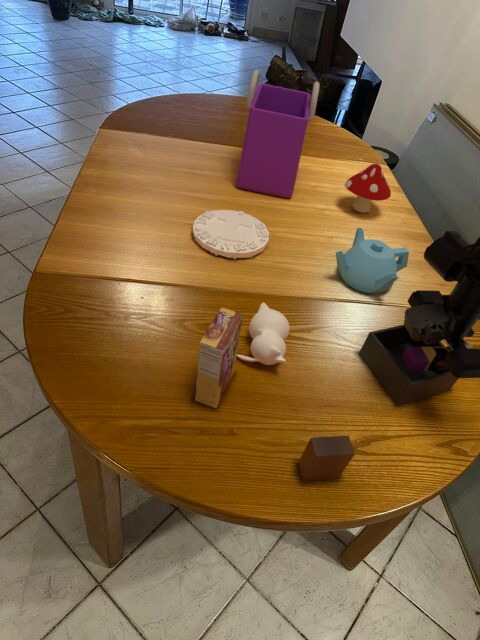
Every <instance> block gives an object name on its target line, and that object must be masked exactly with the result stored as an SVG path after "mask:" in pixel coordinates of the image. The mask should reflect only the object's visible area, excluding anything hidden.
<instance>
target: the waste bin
mask: <svg viewBox="0 0 480 640" xmlns="http://www.w3.org/2000/svg"><path fill="white" fill-rule="evenodd" d="M419 344H420V341H415V340H413V339H412V338H411V337H410V334H409V332H408V330H407V329H406V327H405V326H404V324H400V325H396V326H391V327H387V328H381V329H378V330H377V329H376V330H372V331H370V332H368V335H367V337H366V339H365V340H364V342H363V344H362V346H361V348H360V350H359V352H358V355H359V356H360V358H361V359H362V361H363V362H364V363H365V365H366V366H367V368H368V369H369V370H370V371H371V373H372V374H373V376H374V377H375V378H376V379H377V381H378V382H379V383H380V385H381V387H382V388H383V389H384V390H385V392H386V393H387V394H388V396H389V397H390V398H391V400H392V401H393V402H394V404H395V405H396V407H397V406H403V405H405V404H408V403H411V402H414V401H418V400H422V399H424V398H427V397H431V396H435V395H438V394H441V393H443V392H448V391H450V390H451V389H452V388H453V386H454V385H455V384H456V383H457V381H459V380H460V378H456V377H454V376H453V375H452V373H451V372H450V370H449V369H448V370H434V371H428V370H415V371H409V369H408V367H407V365H406V363H405V361H404V359H403V357H402V354H403V353H404V351H405V349H406V348H407V347H419ZM432 347H446V345H445V344H443V342H442V341H440V342H437V343H435V344H434V345H433V346H432Z"/></svg>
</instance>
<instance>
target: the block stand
mask: <svg viewBox="0 0 480 640" xmlns="http://www.w3.org/2000/svg"><path fill="white" fill-rule="evenodd" d="M350 438H351V437H350V435H335V436H334V435H333V436H331V435H330V436H315V437H314V436H313V437H310V439H308V442H307V444H306V446H305V448H304V450H303V452H302V454H301V456H300V458H299V460H298V462H297V465H298V469H299V473H300V477H301V480H302V482H309V481H312V482H313V481H322V480H323V481H325V480H334V479H335V480H337V479H340V477H341V476H342V474H343V473H344V471H345V470H346V469H347V466H348V465H349V464H350V463H351V460H352V459H353V458H354V457H355V455H356V451H355V449H354V447H353V443H352V441H351V439H350Z"/></svg>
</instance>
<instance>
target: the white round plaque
mask: <svg viewBox="0 0 480 640" xmlns="http://www.w3.org/2000/svg"><path fill="white" fill-rule="evenodd" d="M191 233H192V235H193V239H194V241H196V243H197V244H198V245H199V246H200V247H201V248H202V249H204V250H207V251H208V252H210V253H211V254H214V256H216V257H218V256H222V257H225V258H228V259H233V260H237V258H238V259H250V258H253V257H254V256H256V255H258V254H260V253H261V252H263V251H264V250H265V249H266V248H267V247H268V244H269V241H270V232H269V230H268V228H267V225H266V224H265V223H264V222H262V221H261V220H260V219H258V218H257V217H254V216H253V215H250V214H248V213H245V211H243V210H238V211H237V210H234V209H233V210H232V209H217V210H210V211H208V210H206V211H204V212H203V213H202V214H200V215H199V216H197V218H196V219H195V220H194V222H193V225H192V231H191Z"/></svg>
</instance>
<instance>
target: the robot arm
mask: <svg viewBox="0 0 480 640" xmlns="http://www.w3.org/2000/svg"><path fill="white" fill-rule="evenodd" d="M423 259H424V261H425V262H426V263H427V264H428V265H429V266H430V267H431V268H432V269H433V270H434V271H435V272H436V273H437V274H438V275H439V277H440V278H441V279H443V281H445V282H447V283H448V282H449V283H452V282H456V284H455V285H454V287H453V288H452V290H451V291H450V293H449V294H442V292H441V291H440V290H427V289H426V290H423V289H421V290H420V289H418V290H415V291H413V292H412V293H411V294H410V296H409V297H408V298H407V303H408V305H409V306H410V307H408V308H407V309H406V310H405V311H404V318H403V319H404V320H403V325H404V326H405V327H406V329H407V330H408V332H409V334H410V337H411V338H412V339H413V340H415V341H420V344H419V347H432V346H433V345H434V344H435V343H437V342H440V341H441V342H442V341H443V340H444V343H445V344H446V346H445V348H434V349H435V351H436V353H437V354H436V356H435V357H434V359H433V360H432V362H431V363H430V365H429V367H428V369H427V370H428V371H434V370H437V369H439V368H441V367H444V366H446V365H447V367H448V368H449V370H450V372H451V373H452V375H453V376H454V377H456V378H459V379H480V348H478V347H477V348H476V347H475V348H474V347H473V345H472V344H471V343H470V342H469V341H466V340H465V338H473V336H474V335H475V331H474V329H473V327H474V326H475V325H476V323H477V322H478V321H480V236H479V237H478V238H477V239H476V241H475V242H474V243H471V244H470V243H469V242H468V241H467V240H465V239H464V238H463V236H462V235H461V234H460V232H458V231H457V230H445V232H444V234H443V235H442V236H440V237H439V238H437V239H435V240H434V241H433V242H431V244H430V245H428V246H427V247H426V248H425V250H424V253H423Z"/></svg>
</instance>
